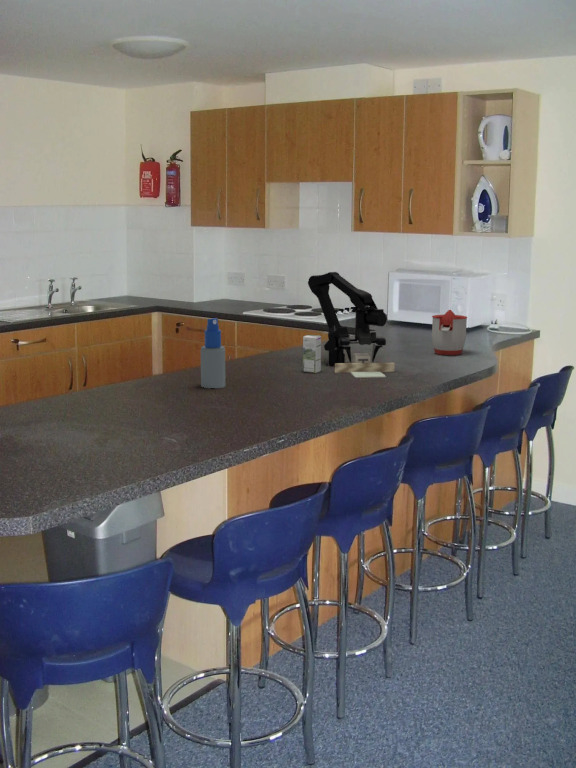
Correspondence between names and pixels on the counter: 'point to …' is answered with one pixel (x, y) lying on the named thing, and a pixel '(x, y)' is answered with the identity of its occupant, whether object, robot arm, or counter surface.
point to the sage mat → (367, 374)
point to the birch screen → (364, 367)
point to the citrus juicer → (449, 333)
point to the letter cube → (361, 358)
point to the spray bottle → (212, 357)
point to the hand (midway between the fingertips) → (361, 362)
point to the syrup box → (311, 353)
